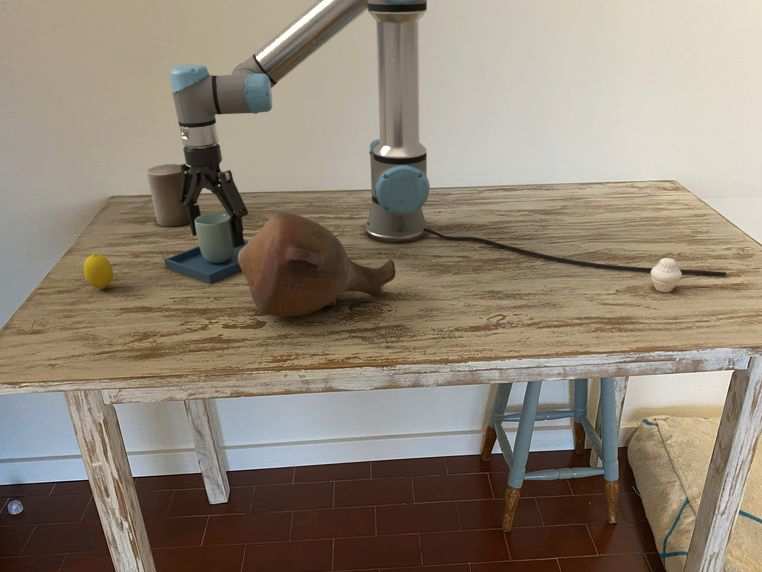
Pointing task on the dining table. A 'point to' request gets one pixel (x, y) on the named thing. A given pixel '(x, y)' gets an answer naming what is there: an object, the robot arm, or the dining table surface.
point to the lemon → (98, 271)
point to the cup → (214, 237)
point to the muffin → (666, 275)
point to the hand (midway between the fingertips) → (218, 240)
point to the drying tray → (203, 265)
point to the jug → (303, 268)
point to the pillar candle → (167, 195)
